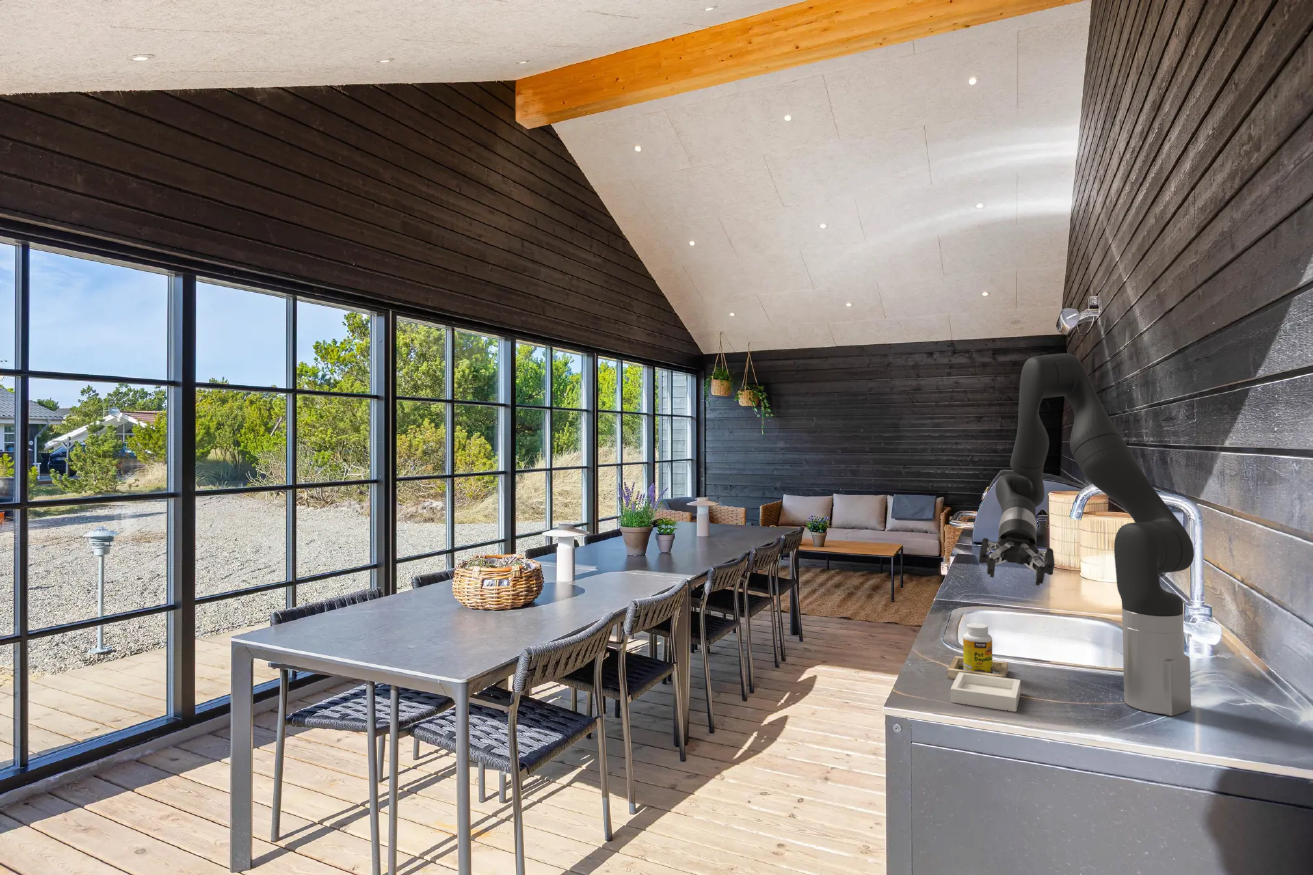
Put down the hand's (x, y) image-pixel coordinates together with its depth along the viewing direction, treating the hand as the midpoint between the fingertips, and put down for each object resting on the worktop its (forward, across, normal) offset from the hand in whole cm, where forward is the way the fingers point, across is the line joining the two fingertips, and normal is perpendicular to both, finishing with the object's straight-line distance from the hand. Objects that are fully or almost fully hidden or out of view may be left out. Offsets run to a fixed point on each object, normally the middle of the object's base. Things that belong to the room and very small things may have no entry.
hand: (1014, 578), depth 152 cm
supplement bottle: (+12, -4, +18) cm, 22 cm away
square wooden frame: (+12, -5, +17) cm, 21 cm away
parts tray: (+24, -3, +10) cm, 26 cm away
